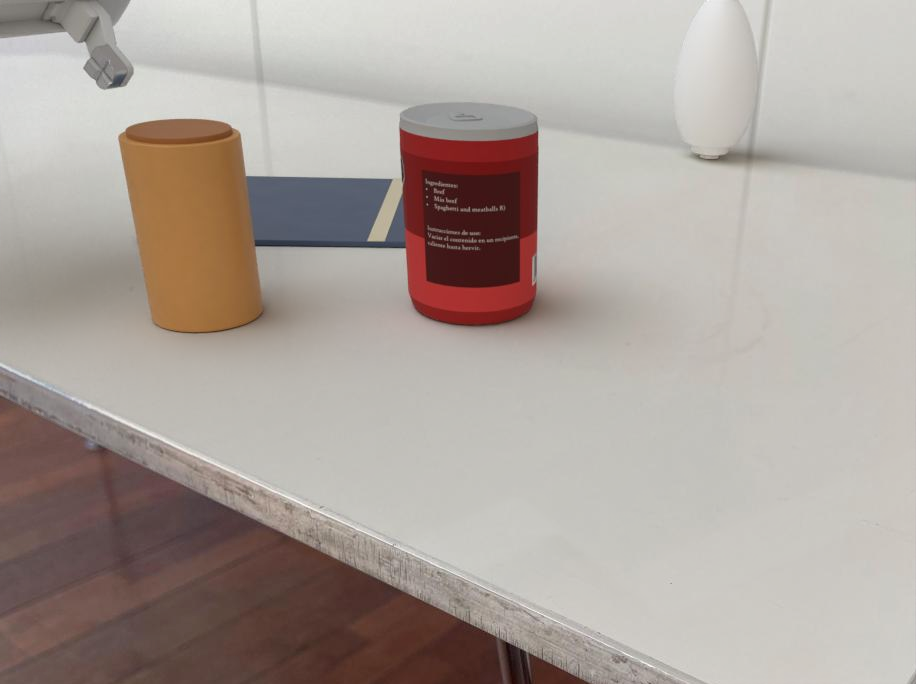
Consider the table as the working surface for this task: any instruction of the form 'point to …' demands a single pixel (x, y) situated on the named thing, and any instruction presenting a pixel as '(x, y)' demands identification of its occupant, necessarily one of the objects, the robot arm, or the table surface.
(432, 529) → the table surface
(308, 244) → the placemat
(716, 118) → the white tall oval piece
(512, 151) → the canned food
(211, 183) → the lidded tan canister
